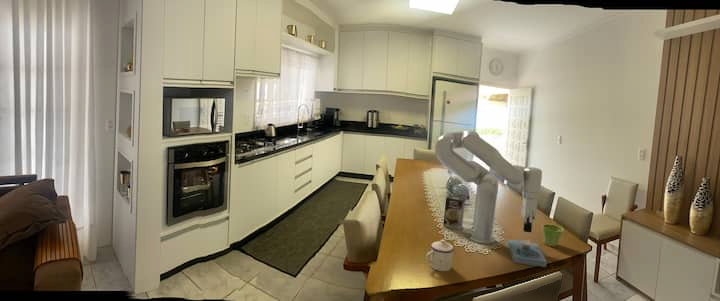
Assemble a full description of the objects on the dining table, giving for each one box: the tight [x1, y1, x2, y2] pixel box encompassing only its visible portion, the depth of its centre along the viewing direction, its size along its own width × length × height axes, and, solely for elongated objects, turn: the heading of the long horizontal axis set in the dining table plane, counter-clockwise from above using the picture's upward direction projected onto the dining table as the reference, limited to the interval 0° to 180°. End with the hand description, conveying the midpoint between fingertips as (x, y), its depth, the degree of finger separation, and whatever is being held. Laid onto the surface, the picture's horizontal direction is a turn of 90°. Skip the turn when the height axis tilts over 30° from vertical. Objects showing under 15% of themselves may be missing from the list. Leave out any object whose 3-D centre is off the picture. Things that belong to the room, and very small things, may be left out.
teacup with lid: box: [425, 239, 454, 272], centre depth 156 cm, size 12×9×12 cm
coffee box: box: [442, 194, 466, 231], centre depth 202 cm, size 9×6×16 cm
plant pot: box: [541, 223, 565, 247], centre depth 186 cm, size 9×9×9 cm
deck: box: [507, 238, 548, 268], centre depth 173 cm, size 20×13×2 cm, turn 167°
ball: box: [520, 238, 532, 248], centre depth 174 cm, size 4×4×4 cm
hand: (527, 231), depth 180 cm, fingers closed
